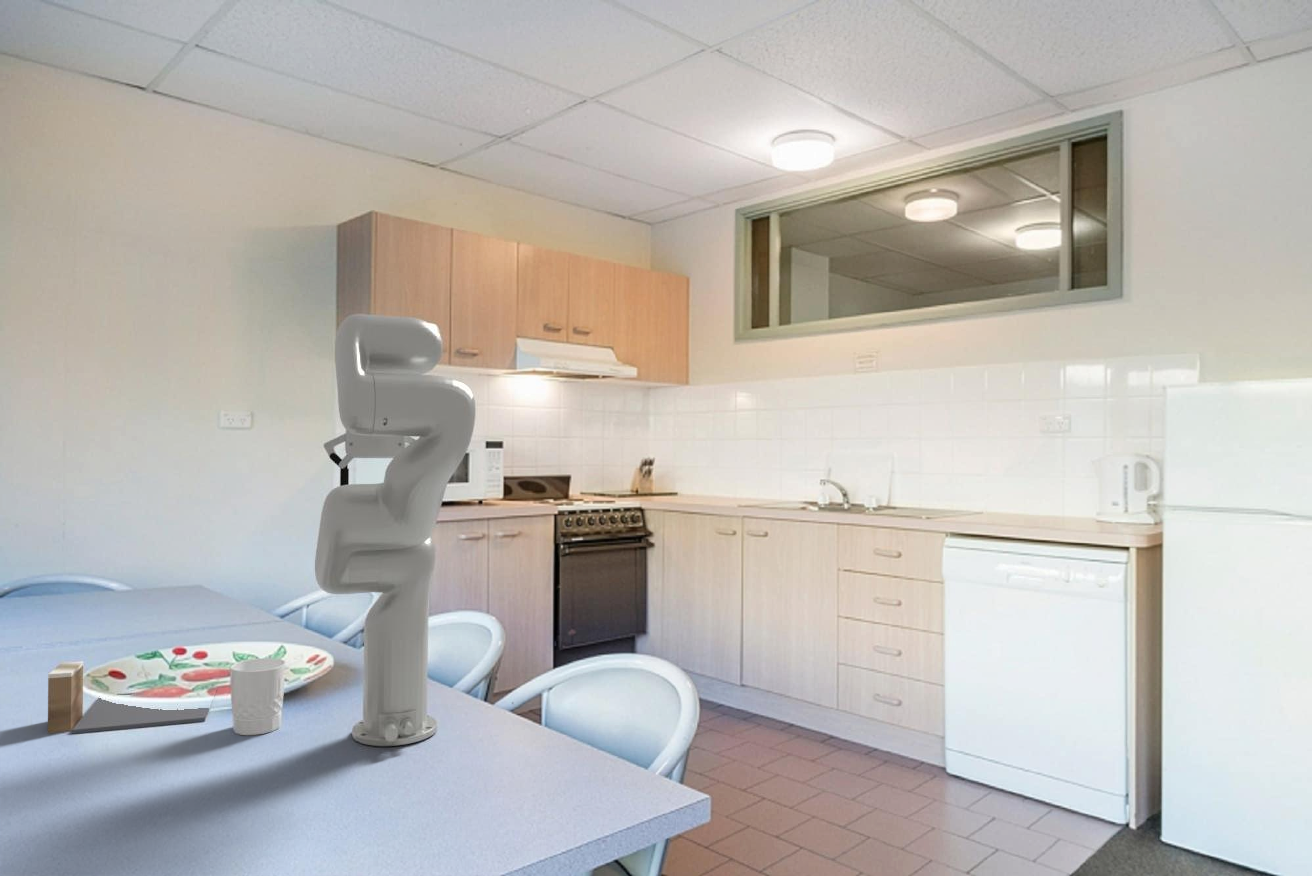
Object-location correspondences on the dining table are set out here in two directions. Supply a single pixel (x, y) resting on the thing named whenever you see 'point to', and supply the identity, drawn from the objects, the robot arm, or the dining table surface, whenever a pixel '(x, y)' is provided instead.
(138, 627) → the dining table surface
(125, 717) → the mat
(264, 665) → the white cup
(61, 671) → the slab
